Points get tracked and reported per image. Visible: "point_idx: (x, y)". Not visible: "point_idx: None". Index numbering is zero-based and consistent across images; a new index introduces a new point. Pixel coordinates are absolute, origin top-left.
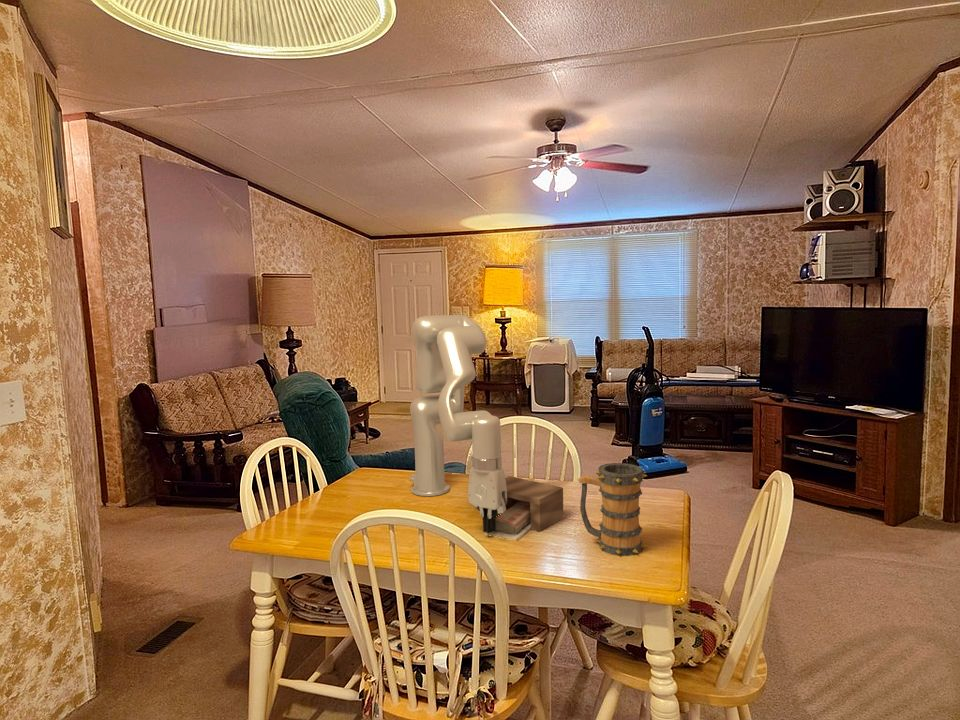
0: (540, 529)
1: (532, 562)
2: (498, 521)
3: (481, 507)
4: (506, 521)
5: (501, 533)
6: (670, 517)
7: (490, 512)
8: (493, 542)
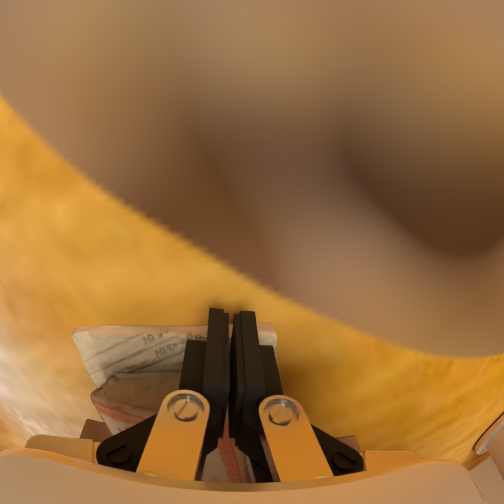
0: (85, 427)
1: None
2: None
3: (298, 475)
4: (136, 421)
5: (171, 358)
6: None
7: (159, 443)
8: (155, 261)
